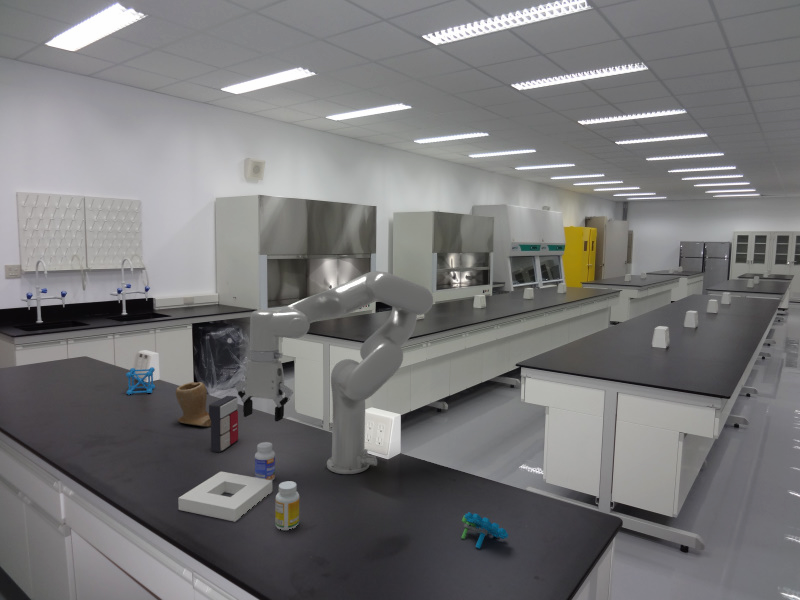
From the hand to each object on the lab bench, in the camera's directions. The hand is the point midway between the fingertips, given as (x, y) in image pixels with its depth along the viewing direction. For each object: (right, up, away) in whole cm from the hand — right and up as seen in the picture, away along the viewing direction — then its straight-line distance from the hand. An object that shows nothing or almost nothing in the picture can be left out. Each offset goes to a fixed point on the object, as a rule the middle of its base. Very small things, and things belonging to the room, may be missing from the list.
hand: (263, 417), depth 140 cm
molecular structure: (-76, -8, +83) cm, 113 cm away
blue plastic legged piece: (+56, -22, -27) cm, 65 cm away
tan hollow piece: (-36, -13, +44) cm, 58 cm away
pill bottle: (0, -18, +2) cm, 18 cm away
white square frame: (-6, -18, -11) cm, 22 cm away
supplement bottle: (+11, -20, -22) cm, 32 cm away
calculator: (-19, -15, +25) cm, 34 cm away
